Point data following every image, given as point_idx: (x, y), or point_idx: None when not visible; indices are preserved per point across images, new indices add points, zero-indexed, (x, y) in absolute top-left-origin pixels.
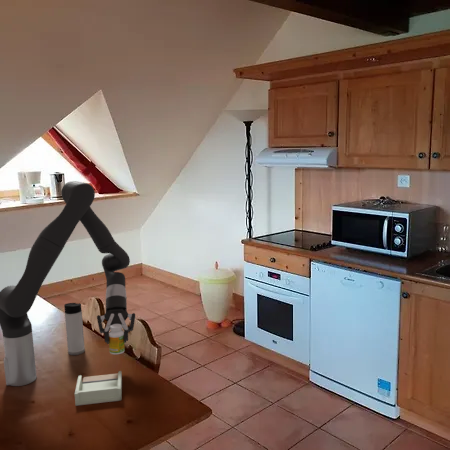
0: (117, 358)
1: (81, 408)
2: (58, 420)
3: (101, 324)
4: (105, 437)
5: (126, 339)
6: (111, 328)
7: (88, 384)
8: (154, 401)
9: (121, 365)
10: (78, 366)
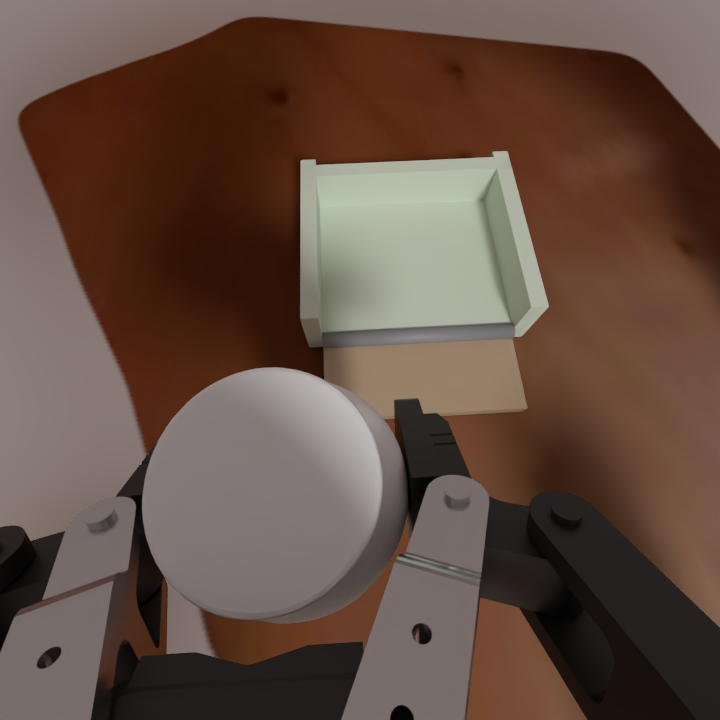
0: None
1: None
2: (521, 128)
3: (616, 603)
4: (349, 48)
5: None
6: (353, 408)
7: (475, 310)
8: (179, 180)
9: None
10: None
